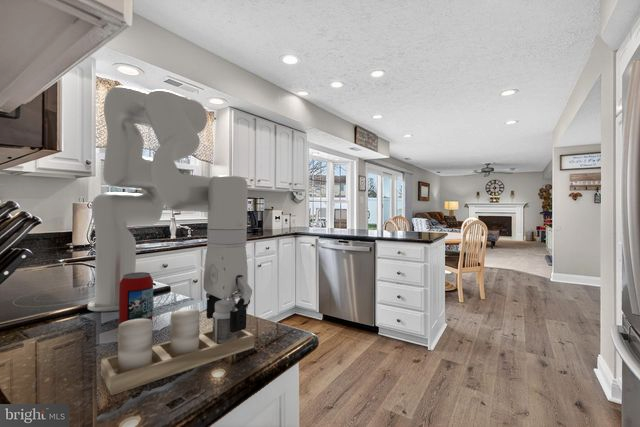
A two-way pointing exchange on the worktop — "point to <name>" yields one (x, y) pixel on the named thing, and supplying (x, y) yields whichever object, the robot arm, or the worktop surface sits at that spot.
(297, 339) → the worktop surface
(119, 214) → the robot arm
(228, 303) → the pill bottle
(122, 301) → the beverage can
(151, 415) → the worktop surface
